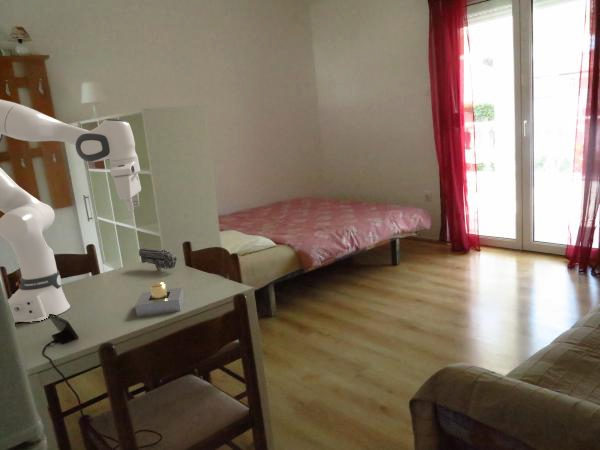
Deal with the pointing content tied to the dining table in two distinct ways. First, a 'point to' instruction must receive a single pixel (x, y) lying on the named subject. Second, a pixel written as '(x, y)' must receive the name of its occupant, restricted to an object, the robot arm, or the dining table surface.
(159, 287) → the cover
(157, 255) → the toy gun
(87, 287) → the dining table surface
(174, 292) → the housing
